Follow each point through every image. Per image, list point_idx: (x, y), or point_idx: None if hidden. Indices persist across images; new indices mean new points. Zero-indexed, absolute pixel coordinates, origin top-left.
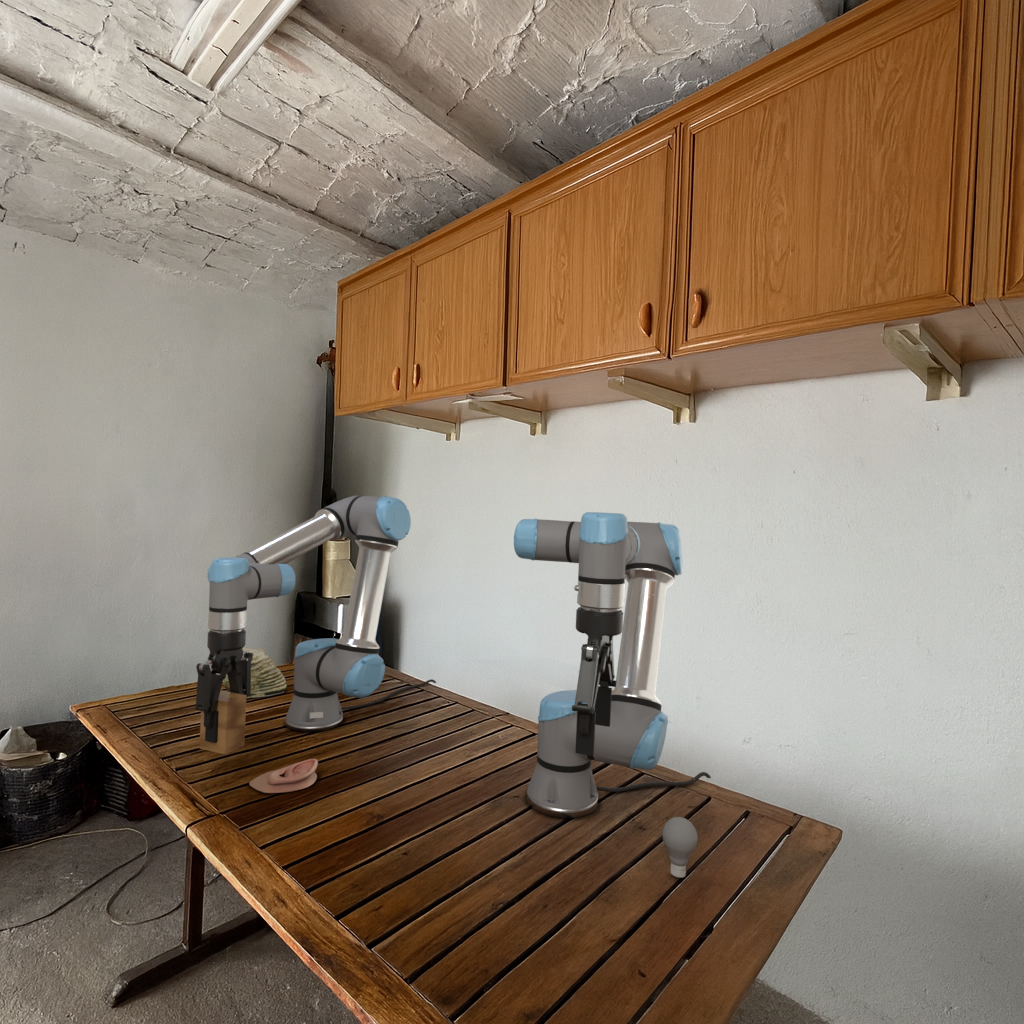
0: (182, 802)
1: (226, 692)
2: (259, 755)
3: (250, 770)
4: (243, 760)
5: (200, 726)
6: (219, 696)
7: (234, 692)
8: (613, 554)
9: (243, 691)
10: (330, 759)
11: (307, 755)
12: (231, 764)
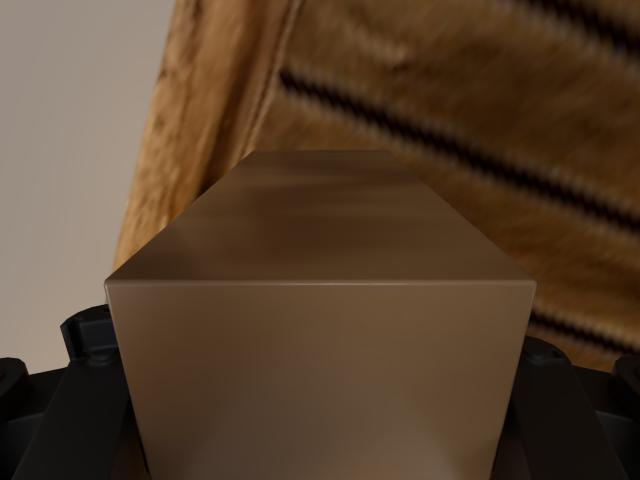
0: (177, 176)
1: (455, 415)
2: (582, 123)
3: (451, 191)
4: (521, 102)
5: (225, 175)
6: (268, 456)
7: (502, 476)
8: None
9: (636, 458)
10: (603, 348)
11: (619, 273)
12: (473, 88)
